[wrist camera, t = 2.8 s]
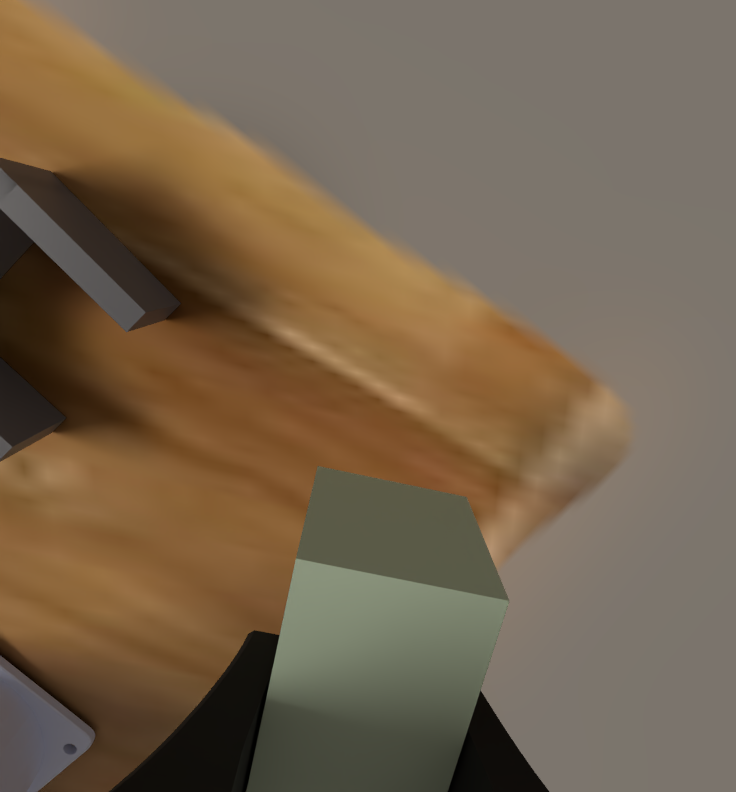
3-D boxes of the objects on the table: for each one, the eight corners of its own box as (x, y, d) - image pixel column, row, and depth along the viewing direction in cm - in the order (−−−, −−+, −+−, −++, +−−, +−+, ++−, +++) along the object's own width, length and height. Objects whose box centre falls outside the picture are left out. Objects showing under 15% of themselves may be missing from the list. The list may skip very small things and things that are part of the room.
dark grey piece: (51, 433, 19) (-5, 464, 16) (-79, 315, 18) (-163, 326, 15) (181, 303, 18) (145, 312, 15) (50, 171, 17) (-14, 154, 14)
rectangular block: (387, 769, 15) (395, 953, 11) (258, 746, 15) (218, 923, 11) (466, 496, 13) (509, 600, 9) (317, 466, 13) (295, 558, 9)
